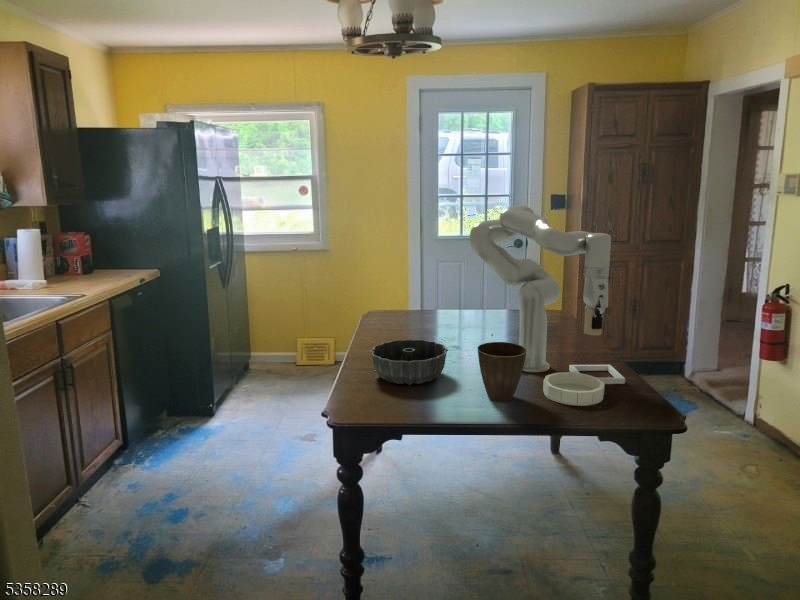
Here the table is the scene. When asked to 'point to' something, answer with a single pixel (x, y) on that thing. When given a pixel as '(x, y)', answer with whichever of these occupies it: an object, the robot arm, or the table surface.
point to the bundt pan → (409, 360)
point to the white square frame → (607, 380)
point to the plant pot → (501, 368)
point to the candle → (590, 322)
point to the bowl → (573, 388)
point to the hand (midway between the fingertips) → (592, 325)
